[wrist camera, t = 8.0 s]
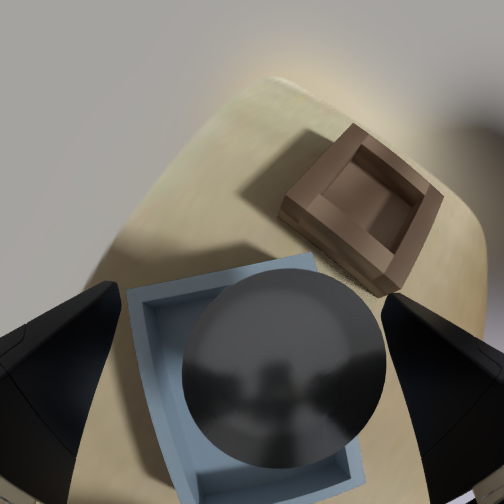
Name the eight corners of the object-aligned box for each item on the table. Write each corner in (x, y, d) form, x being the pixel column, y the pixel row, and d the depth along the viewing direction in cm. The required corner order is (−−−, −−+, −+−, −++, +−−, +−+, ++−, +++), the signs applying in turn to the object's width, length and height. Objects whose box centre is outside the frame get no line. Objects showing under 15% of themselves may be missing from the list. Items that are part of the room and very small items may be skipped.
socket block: (424, 212, 21) (444, 196, 18) (378, 298, 18) (401, 289, 15) (341, 146, 22) (353, 122, 19) (277, 216, 20) (285, 194, 17)
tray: (344, 464, 14) (365, 482, 11) (197, 499, 13) (190, 525, 10) (297, 269, 19) (311, 251, 15) (144, 300, 17) (125, 289, 14)
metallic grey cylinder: (292, 368, 16) (405, 410, 5) (221, 395, 15) (231, 494, 4) (266, 299, 17) (345, 241, 6) (194, 324, 16) (150, 309, 5)
